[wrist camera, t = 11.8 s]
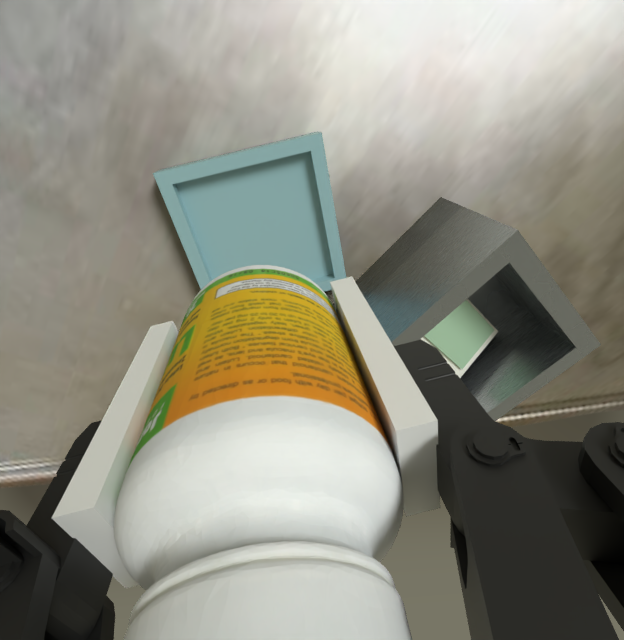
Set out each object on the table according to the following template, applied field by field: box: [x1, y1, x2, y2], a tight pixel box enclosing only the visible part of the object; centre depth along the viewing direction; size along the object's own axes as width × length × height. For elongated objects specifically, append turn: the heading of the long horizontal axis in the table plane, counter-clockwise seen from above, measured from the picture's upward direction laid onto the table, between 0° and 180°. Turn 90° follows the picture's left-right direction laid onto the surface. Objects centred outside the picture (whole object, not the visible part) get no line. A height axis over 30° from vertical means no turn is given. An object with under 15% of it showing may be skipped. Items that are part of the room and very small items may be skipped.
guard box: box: [333, 197, 601, 421], centre depth 26 cm, size 17×11×8 cm, turn 137°
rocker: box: [420, 299, 498, 378], centre depth 25 cm, size 10×7×2 cm
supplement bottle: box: [114, 265, 412, 640], centre depth 8 cm, size 5×5×10 cm
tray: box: [153, 132, 346, 291], centre depth 23 cm, size 10×10×2 cm
